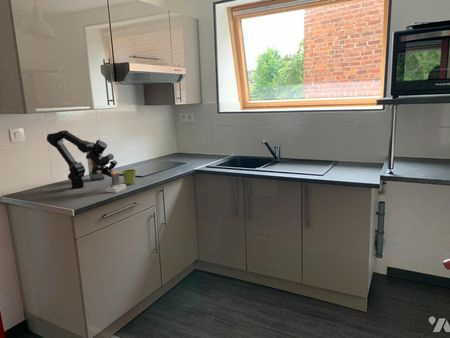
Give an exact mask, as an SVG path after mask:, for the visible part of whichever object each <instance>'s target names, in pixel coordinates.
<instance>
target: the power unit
mask: <svg viewBox="0 0 450 338" xmlns="http://www.w3.org/2000/svg"><path fill="white" fill-rule="evenodd" d="M109 185H110V186H107V187H106V192H107V193H118V192H120V191H121V192H122V191H123V190H126V189H127V184H125V183H121V182H120V181H119V184H118V185H115V186H113V185H112V183H111V184H109Z"/></svg>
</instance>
